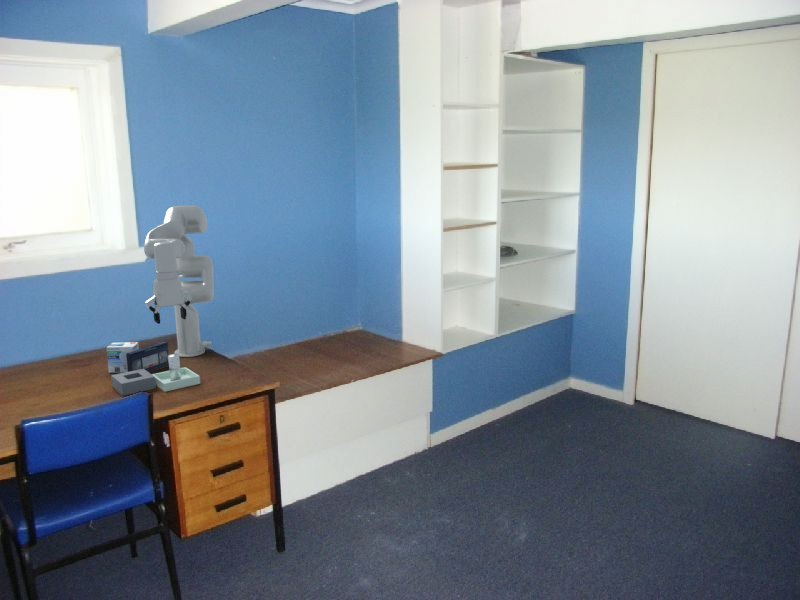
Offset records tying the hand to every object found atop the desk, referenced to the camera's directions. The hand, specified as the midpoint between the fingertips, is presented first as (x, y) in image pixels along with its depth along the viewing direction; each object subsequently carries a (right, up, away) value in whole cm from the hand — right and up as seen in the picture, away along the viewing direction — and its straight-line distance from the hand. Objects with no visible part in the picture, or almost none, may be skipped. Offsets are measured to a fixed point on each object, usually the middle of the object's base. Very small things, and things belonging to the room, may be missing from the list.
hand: (170, 320), depth 254 cm
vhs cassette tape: (-15, -21, +19) cm, 32 cm away
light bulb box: (-25, -21, +20) cm, 38 cm away
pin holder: (-14, -25, 0) cm, 28 cm away
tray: (0, -24, +5) cm, 24 cm away
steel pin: (0, -23, +5) cm, 23 cm away
